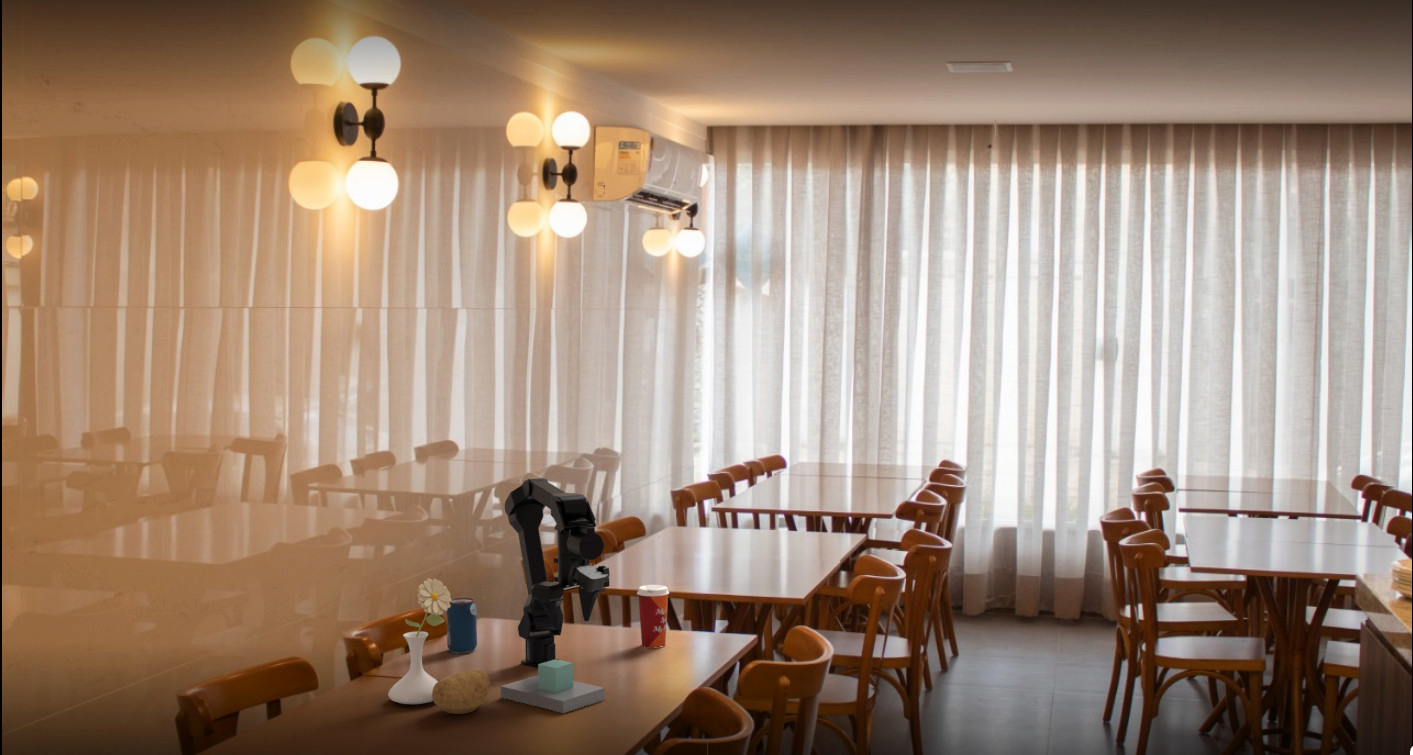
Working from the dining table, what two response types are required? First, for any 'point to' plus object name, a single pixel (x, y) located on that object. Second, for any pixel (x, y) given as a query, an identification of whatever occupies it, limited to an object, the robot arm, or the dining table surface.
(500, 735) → the dining table surface
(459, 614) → the soda can
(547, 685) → the teal cube
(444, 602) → the flower in vase
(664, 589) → the paper cup
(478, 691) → the potato
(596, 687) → the slate board
